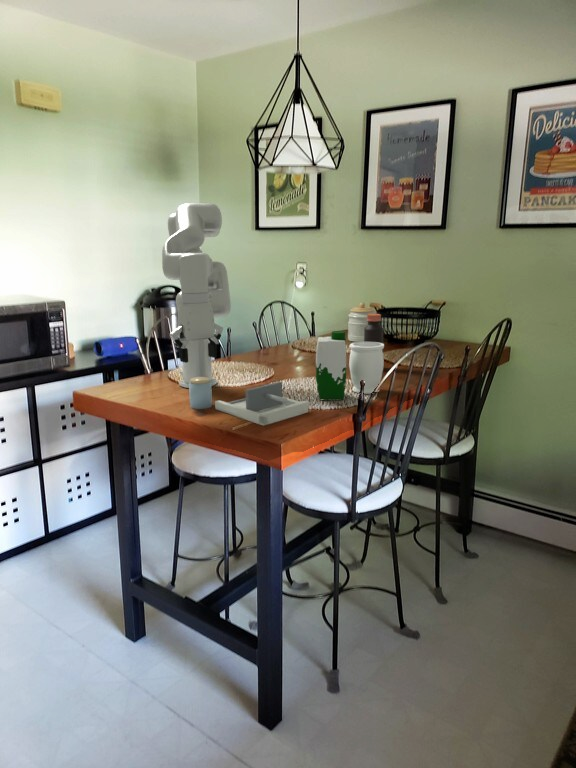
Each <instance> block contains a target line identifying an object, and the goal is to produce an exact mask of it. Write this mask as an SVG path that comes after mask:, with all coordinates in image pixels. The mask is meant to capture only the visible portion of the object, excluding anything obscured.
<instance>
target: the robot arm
mask: <svg viewBox="0 0 576 768" xmlns="http://www.w3.org/2000/svg"><path fill="white" fill-rule="evenodd" d="M220 209H221V208H220V207H218V205H216V204H215V203H211V202H210V203H207V202H205V203H204V202H201V203H200V202H199V203H198V202H197V203H195V202H194V203H190V202H189V203H184V204H181V205H179V206H178V207H177V208H176V210H175V213H172V214H170V215H169V216H168V218H167V230H168V235H169V238H167V240H166V241H165V242H164V243H163V247H162V253H161V265H162V273H163V275H164V276H165V278H167V279H168V280H171V281H179V284H180V292H178V293H177V295H176V297H175V305H176V311H177V327H176V328H175V329H174V330H173V331H171V332H170V333H169V337H170V339H171V341H172V343H173V344H174V345H175V346H176V348H178V354H179V355H178V357H179V361H180V362H181V363H182V370H180V371H179V374H180V375H182V379H180V380H178V385H179V386H180V387H182V388H185V389H186V388H187V389H189V382H190V379H191V378H194V377H208V378H210V381H211V387H213V386H215V385H216V384H217V383H218V379H217V378H216V377H213V368H212V358H214V359H215V358H217V356H218V355H217V353H218V351H217V349H218V348H217V344H218V343H219V340H220V339H221V338H222V333H223V330H224V327H222V326H221V325H219V324H216V323H215V318H224V317H227V316H228V315H229V314H230V313H231V307H232V305H231V295H230V287H229V285H230V284H229V277H228V276H229V275H228V270H227V267H226V266H225V264H224V263H222V262H220V261H216V260H215V261H213V259H212V258H211V256H210V255H209V254H207V253H205V252H203V251H202V249H201V248H200V247H202V246H203V244H204V242H205V238H215V237H217V236H219V234H220V233H221V232H220V231H221V228H222V224H223V220H222V219H223V215H222V213H221V210H220Z"/></svg>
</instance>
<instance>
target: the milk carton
mask: <svg viewBox="0 0 576 768" xmlns="http://www.w3.org/2000/svg"><path fill="white" fill-rule="evenodd" d="M346 339H347V338H346V331H344V330H333V331H331V336H319V337H317V344H316V351H315V380H316V387H317V392H318V397H319V400H320V399H345V398H344V397H345V391H346V383H347V347H346V346H347V345H346V343H347V340H346Z"/></svg>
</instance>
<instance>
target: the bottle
mask: <svg viewBox="0 0 576 768" xmlns="http://www.w3.org/2000/svg"><path fill="white" fill-rule="evenodd" d="M381 321H382V314H380V313H374V314H368V315H367V322H368V325H367V326H366V327H365V329H364V342H378V343H382V344H384V328H383V326H382V325H381V324H380V323H381ZM382 352H383V353H384V348H383V349H382Z"/></svg>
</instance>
